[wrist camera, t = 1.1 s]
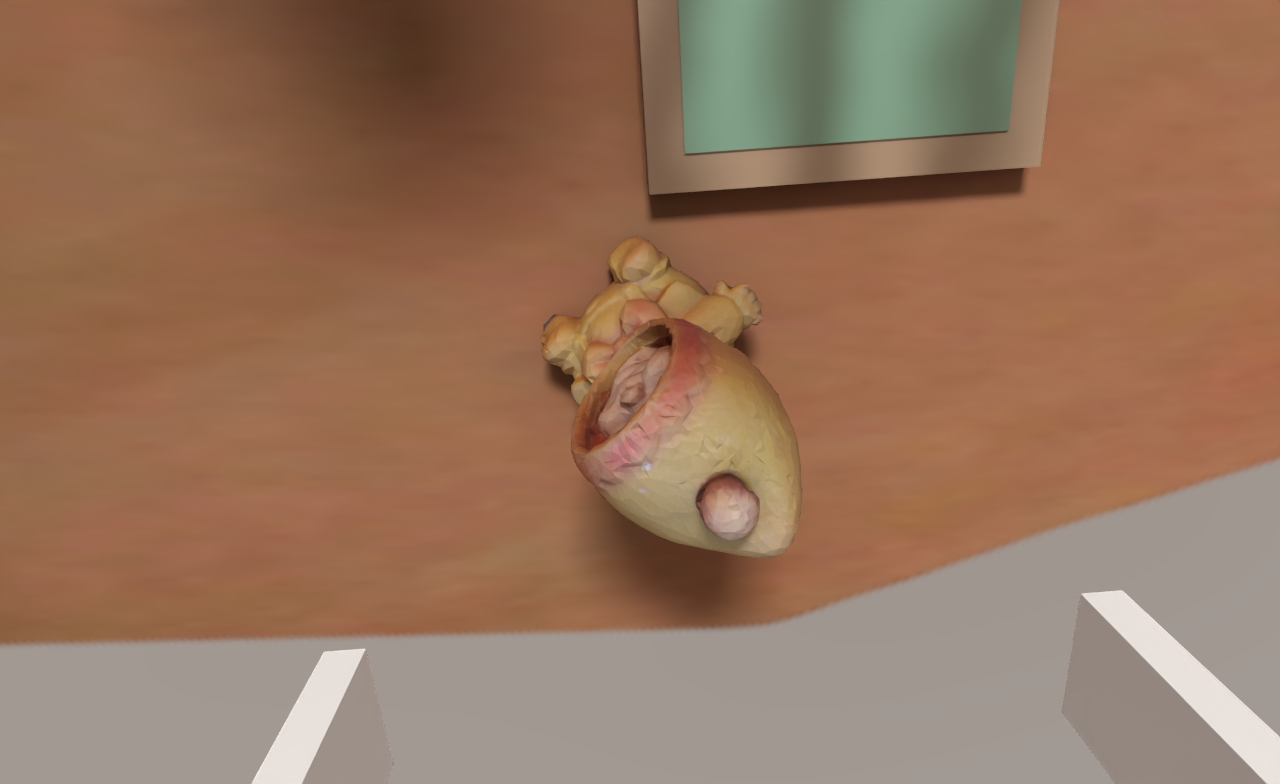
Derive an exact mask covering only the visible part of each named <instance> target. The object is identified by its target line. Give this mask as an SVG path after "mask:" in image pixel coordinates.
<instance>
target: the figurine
mask: <svg viewBox="0 0 1280 784" xmlns="http://www.w3.org/2000/svg"><path fill="white" fill-rule="evenodd" d="M607 262H608V266H609V270H610V271H611V273H612V274H613V277H614V282H612V283H611V284H610V285H609V286H608V287H607V288H606V289H605V290H603V291H602V292H600V293H599V294H597V295H596V296H595V297H594V298H593V299H592V300H591V302H590V303H589V304H588V306H587V307H586V309H585V311H584V313H583V316H582V318H576V317H566V316H563V315H553V316H552V317H551V318H550V320H549V321H548V322H547V323H546V324H544V333H543V335H542V337H541V342H542V343H543V345H544V346H543V348H542V350H541V352H542V356H543V358H544V360H545V361H547V362H548V363H550V364H552V365H557V366H559V367H561V370H562V371H563V372H564V373H565V374H568V375H573V378H574V380H575V381H574V382H573V384H572V385H571V393H572V395H573V397H574V399H575V400H576V402H577V403H578V405H579V406H580V407H579V409H578V411H577V413H576V416H575V420H574V423H573V426H572V439H571V452H572V455H573V458H574V461H575V463H576V465H577V467H578V468H579V470H580V471H581V473H582V474H583V475H584V477H585V478H586V479H587V480H588V481H589V482H591V483H592V484H593V485H594V486H595V487H596V489H597V491H598V492H599V494H600V495H601V496H602V497H603V498H605V499H606V500H607V501H608V502H609V503H610V504H611V505H612V506H613V507H614V508H615V509H616V510H617V511H618V512H620V513H621V514H622V515H624V516H625V517H626V518H628V519H629V520H631V521H633V522H634V523H636V524H637V525H639V526H641V527H643V528H644V529H646V530H648V531H650V532H652V533H654V534H655V535H657V536H659V537H662V538H665V539H667V540H670V541H672V542H675V543H679V544H684V545H689V546H694V547H699V548H703V549H708V550H714V551H719V552H724V553H729V554H734V555H739V556H746V557H755V558H771V557H775V556H778V555H781V554H782V553H783V552H784V551H785V550H786V549H787V548H788V546H789V545H790V544H791V543H792V542H793V541H794V538H795V535H796V532H797V524H798V521H799V518H800V515H801V503H802V484H801V464H800V456H799V449H798V443H797V439H796V435H795V432H794V429H793V426H792V424H791V421H790V419H789V416H788V414H787V412H786V411H785V409H784V407H783V405H782V403H781V401H780V398H779V395H778V393H777V392H776V391H775V390H774V388H773V387H772V386H771V384H770V383H769V382H768V381H767V379H766V378H765V377H764V375H763V374H762V373H761V371H760V370H759V369H758V368H757V367H755V366H754V365H753V364H752V363H751V362H750V360H749V358H748V357H747V356H746V355H745V354H744V353H742V352H741V351H740V350H738V349H736V348H734V341H735V340H736V339H737V338H738V337H739V335H740V333H741V331H742V330H744V329H747V328H749V327H750V325H751V324H753V325H757V324H758V323H760V322H761V321H762V320H763V318H762V316H761V303H760V302H759V300H758V298H757V296H756V294H755V292H754V291H752V290H750V287H749V285H747V284H739V285H737V286H735V287H733V288H732V287H730V286H728V285H727V284H726V283H725V282H724V281H723V280H720V281H718V282H717V283H716V285H715V287H714V291H713V295H709V293H708V292H707V291H706V290H705V289H704V288H703V287H702V286H701V285H700V284H699V283H698V282H697V281H695V280H694V279H692V278H691V277H689V276H688V275H686V274H684V273H682V272H681V271H679V270H677V269H675V268H673V267H671V264H670V260H669V258H668V257H667V256H666V255H665V254H663V253H661V252H659V251H658V250H657V248H656V247H655V246H654V245H653V244H652V243H651V242H650V241H649V240H646V239H644V238H642V237H638V236H635V237H631V238H628V239H626V240H625V241H624V242H622V243H621V244H620V245H619V246H618V247H617V248H616V249H615V250H614V252H613V253H612V254H611V255H610V257H609V259H608V260H607Z"/></svg>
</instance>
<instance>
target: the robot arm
mask: <svg viewBox="0 0 1280 784" xmlns="http://www.w3.org/2000/svg"><path fill="white" fill-rule="evenodd" d="M1062 713H1063V714H1064V716H1065V717H1066V718H1067V720H1068V721H1069V722H1070V724H1071V725H1072V726H1073V728H1074V729H1075V730H1076V732H1077V733H1078V734H1079V736H1080V737H1081V738H1082V740H1083V741H1084V742H1085V744H1086V745H1087V746H1088V747H1089V749H1090V750H1091V752H1092V753H1093V754H1094V756H1095V757H1096V758H1097V760H1098V761H1099V762H1100V763H1101V765H1102V766H1103V768H1104V769H1105V770H1106V771H1107V773H1108V774H1109V776H1110V777H1111V778H1112V780H1113V781H1114V782H1115V784H1280V737H1279V736H1278V735H1277V734H1276V733H1275V732H1274V731H1273V730H1272V729H1271V728H1269V727H1268V726H1267V725H1266V724H1265V723H1264V722H1263V721H1262V720H1261V719H1260V718H1259V717H1258V716H1256V715H1255V714H1254V713H1253V712H1252V711H1251V710H1250V709H1249V708H1248V707H1247V706H1246V705H1245V704H1244V703H1243V702H1242V701H1240V700H1239V699H1238V698H1237V697H1236V696H1235V695H1234V694H1233V693H1232V692H1231V691H1230V690H1228V689H1227V688H1226V687H1225V686H1224V685H1223V684H1222V683H1221V682H1220V681H1219V680H1218V679H1217V678H1216V677H1215V676H1214V675H1212V674H1211V673H1210V672H1209V671H1208V670H1207V669H1206V668H1205V667H1204V666H1203V665H1202V664H1201V663H1200V662H1199V661H1197V660H1196V659H1195V658H1194V657H1193V656H1192V655H1191V654H1190V653H1189V652H1188V651H1187V650H1186V649H1185V648H1183V647H1182V646H1181V645H1180V644H1179V643H1178V642H1177V641H1176V640H1175V639H1174V638H1173V637H1172V636H1170V635H1169V633H1167V632H1166V631H1165V630H1164V629H1163V628H1162V627H1161V626H1160V625H1159V624H1158V623H1157V622H1156V621H1154V620H1153V619H1152V618H1151V617H1150V616H1149V615H1148V614H1147V613H1146V612H1145V611H1144V610H1142V608H1140V607H1139V606H1138V605H1137V604H1136V603H1135V602H1134V601H1133V600H1132V599H1131V598H1130V597H1129V596H1128V595H1126V593H1124V592H1123V591H1109V592H1096V593H1083V594H1081V596H1080V601H1079V608H1078V614H1077V620H1076V626H1075V632H1074V638H1073V645H1072V651H1071V657H1070V663H1069V670H1068V676H1067V682H1066V688H1065V695H1064V701H1063V707H1062ZM393 764H394V763H393V759H392V754H391V750H390V746H389V742H388V738H387V734H386V730H385V725H384V721H383V717H382V713H381V709H380V705H379V701H378V696H377V692H376V688H375V685H374V680H373V676H372V672H371V668H370V663H369V659H368V655H367V651H366V649H354V650H342V651H328V652H324V653H323V655H322V656H321V658H320V660H319V662H318V664H317V666H316V667H315V669H314V671H313V673H312V675H311V677H310V678H309V680H308V682H307V684H306V686H305V687H304V689H303V691H302V693H301V695H300V696H299V698H298V700H297V702H296V704H295V705H294V707H293V709H292V711H291V713H290V715H289V716H288V718H287V720H286V722H285V724H284V725H283V727H282V729H281V731H280V733H279V734H278V737H277V738H276V740H275V742H274V744H273V746H272V747H271V749H270V751H269V753H268V755H267V756H266V758H265V760H264V762H263V764H262V766H261V767H260V769H259V771H258V773H257V774H256V776H255V778H254V780H253V782H252V784H387V782H388V779H389V776H390V773H391V770H392V767H393Z"/></svg>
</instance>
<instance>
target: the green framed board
mask: <svg viewBox="0 0 1280 784" xmlns="http://www.w3.org/2000/svg"><path fill="white" fill-rule="evenodd" d="M1058 8H1059V0H637V17H638V33H639V49H640V65H641V82H642V98H643V114H644V130H645V147H646V163H647V179H648V193H649V195H654V194H668V193H682V192H696V191H710V190H723V189H737V188H751V187H765V186H778V185H792V184H806V183H820V182H834V181H847V180H861V179H875V178H889V177H903V176H916V175H930V174H944V173H958V172H972V171H985V170H999V169H1013V168H1027V167H1040V164H1041V155H1042V147H1043V138H1044V129H1045V121H1046V112H1047V103H1048V95H1049V86H1050V77H1051V68H1052V60H1053V51H1054V42H1055V34H1056V25H1057V16H1058Z"/></svg>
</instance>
